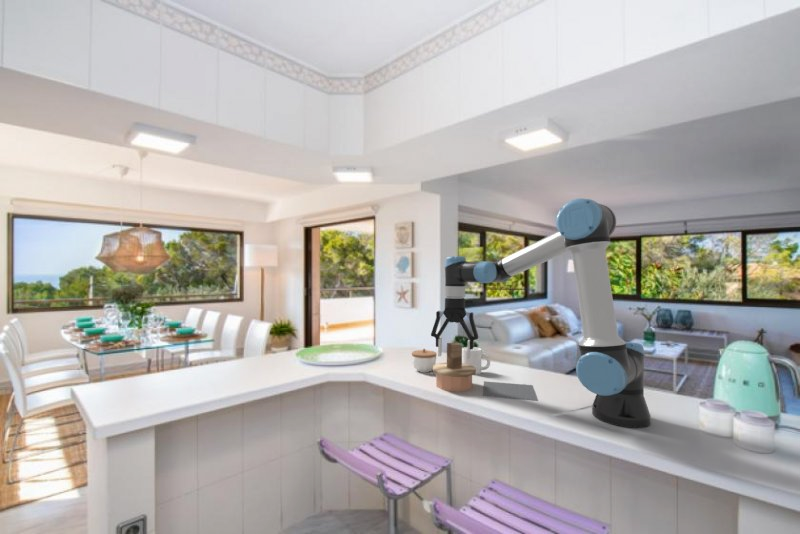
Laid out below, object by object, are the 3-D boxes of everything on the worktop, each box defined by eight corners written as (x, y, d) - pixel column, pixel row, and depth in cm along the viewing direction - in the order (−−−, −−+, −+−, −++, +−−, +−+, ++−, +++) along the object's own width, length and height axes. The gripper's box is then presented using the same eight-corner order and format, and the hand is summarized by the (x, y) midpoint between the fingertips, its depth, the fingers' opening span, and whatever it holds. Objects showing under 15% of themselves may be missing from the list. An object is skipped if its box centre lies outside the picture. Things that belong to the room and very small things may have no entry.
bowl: (478, 389, 138) (478, 373, 138) (449, 394, 132) (449, 377, 132) (457, 380, 150) (457, 365, 150) (429, 384, 144) (430, 368, 144)
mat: (532, 386, 143) (532, 385, 143) (538, 402, 125) (538, 400, 125) (483, 382, 147) (483, 381, 147) (482, 397, 130) (483, 395, 130)
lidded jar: (406, 370, 164) (406, 348, 165) (423, 366, 172) (423, 345, 172) (424, 375, 156) (424, 352, 157) (441, 370, 164) (441, 349, 164)
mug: (490, 372, 163) (491, 348, 163) (489, 377, 155) (489, 352, 155) (463, 369, 167) (463, 346, 167) (460, 374, 159) (460, 349, 159)
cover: (484, 373, 138) (485, 345, 138) (448, 379, 130) (449, 349, 130) (458, 363, 152) (459, 338, 152) (424, 368, 144) (425, 341, 145)
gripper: (486, 297, 141) (486, 357, 141) (427, 295, 148) (426, 352, 148) (485, 299, 134) (484, 361, 134) (423, 297, 141) (422, 356, 141)
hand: (454, 356), depth 141 cm, fingers open, 10 cm apart
